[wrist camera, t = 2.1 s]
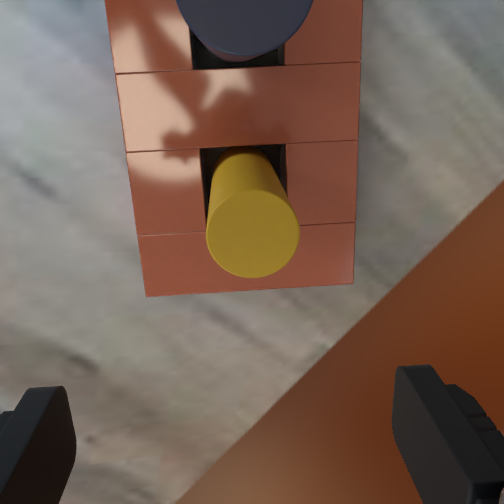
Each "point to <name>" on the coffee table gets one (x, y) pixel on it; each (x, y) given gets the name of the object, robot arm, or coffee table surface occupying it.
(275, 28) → the navy peg
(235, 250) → the yellow peg
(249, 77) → the peg stand
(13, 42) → the coffee table surface
